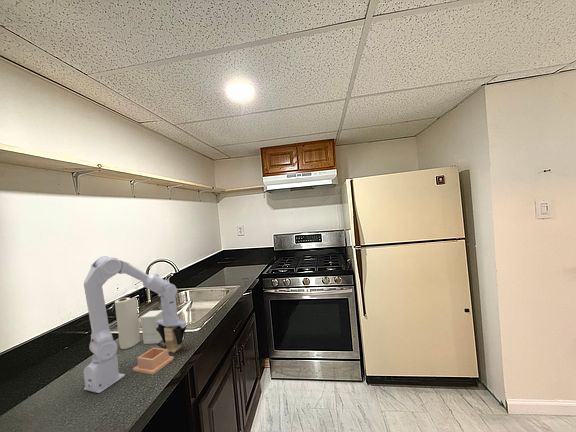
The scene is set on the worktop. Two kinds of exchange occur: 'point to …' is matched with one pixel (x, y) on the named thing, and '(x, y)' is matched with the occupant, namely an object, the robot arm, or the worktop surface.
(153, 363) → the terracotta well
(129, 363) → the worktop surface
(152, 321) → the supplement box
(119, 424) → the worktop surface
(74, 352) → the worktop surface
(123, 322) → the paper towel roll
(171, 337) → the birch peg
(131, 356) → the worktop surface
